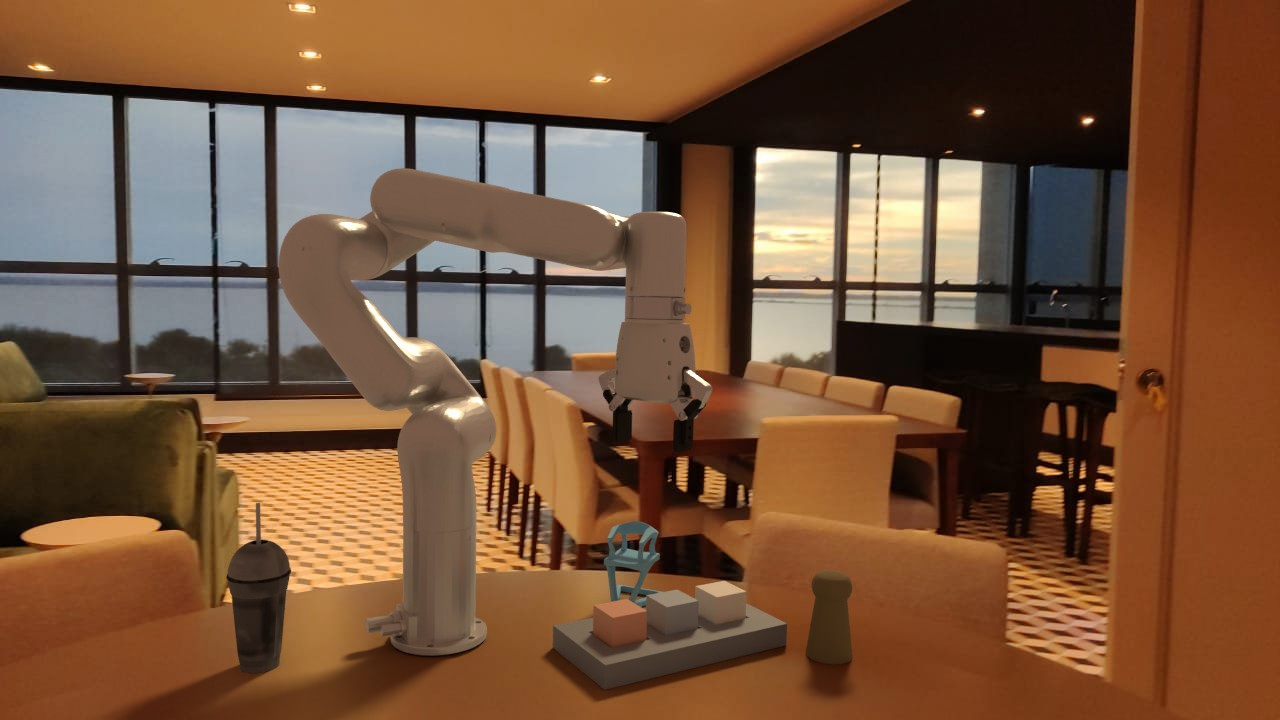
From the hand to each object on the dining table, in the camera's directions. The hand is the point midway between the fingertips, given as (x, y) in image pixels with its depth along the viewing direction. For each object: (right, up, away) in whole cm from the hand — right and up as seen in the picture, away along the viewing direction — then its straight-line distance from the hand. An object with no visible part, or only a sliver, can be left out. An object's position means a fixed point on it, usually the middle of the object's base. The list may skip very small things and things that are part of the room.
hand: (651, 446), depth 111 cm
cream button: (+10, -24, +9) cm, 28 cm away
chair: (-3, -26, +22) cm, 34 cm away
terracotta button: (-4, -25, +1) cm, 25 cm away
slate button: (+3, -25, +5) cm, 25 cm away
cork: (+23, -28, +4) cm, 37 cm away
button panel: (+3, -27, +5) cm, 28 cm away
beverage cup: (-48, -27, -4) cm, 55 cm away
